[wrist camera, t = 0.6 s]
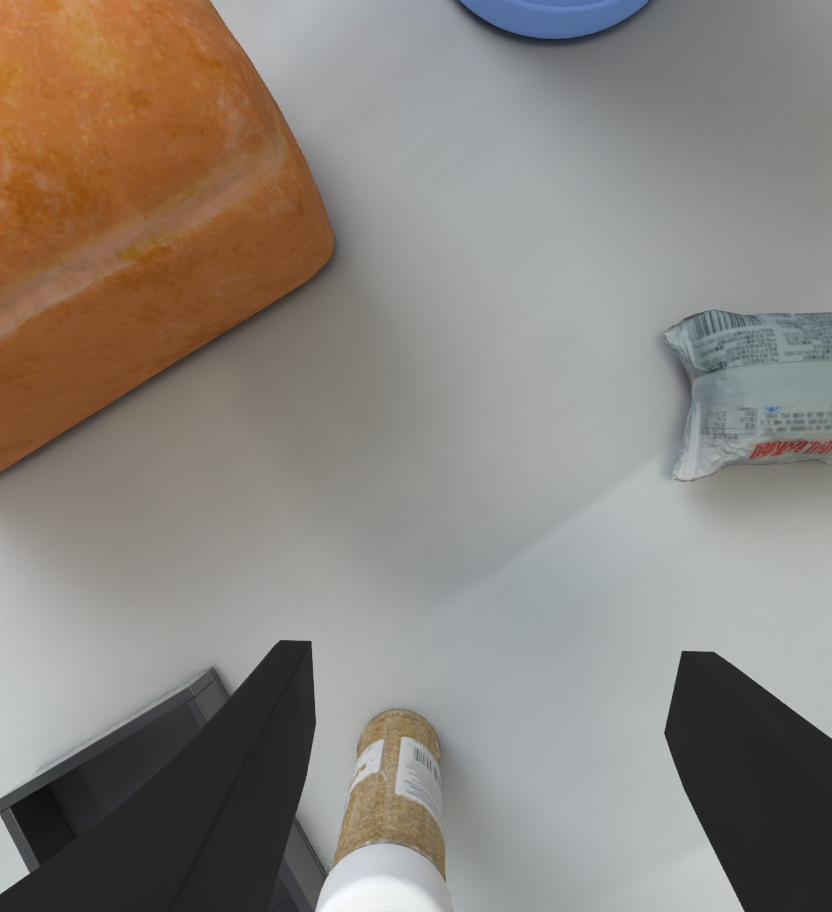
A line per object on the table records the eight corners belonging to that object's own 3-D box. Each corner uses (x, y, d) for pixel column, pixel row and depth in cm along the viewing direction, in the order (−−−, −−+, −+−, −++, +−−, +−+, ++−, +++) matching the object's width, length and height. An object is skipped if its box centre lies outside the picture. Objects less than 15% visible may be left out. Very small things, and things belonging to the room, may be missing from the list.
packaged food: (870, 477, 31) (956, 473, 26) (656, 481, 31) (701, 478, 26) (857, 325, 31) (938, 292, 26) (649, 329, 31) (691, 298, 26)
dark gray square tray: (331, 882, 29) (321, 926, 26) (150, 992, 29) (119, 1049, 26) (212, 666, 30) (190, 685, 27) (35, 771, 30) (-7, 802, 27)
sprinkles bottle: (348, 719, 30) (288, 904, 17) (428, 697, 30) (433, 863, 17) (370, 803, 30) (327, 1060, 16) (451, 780, 30) (474, 1017, 16)
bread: (-147, 307, 32) (-704, 127, 16) (235, 75, 33) (61, -316, 17) (-33, 507, 31) (-502, 524, 15) (358, 265, 32) (295, 41, 16)
